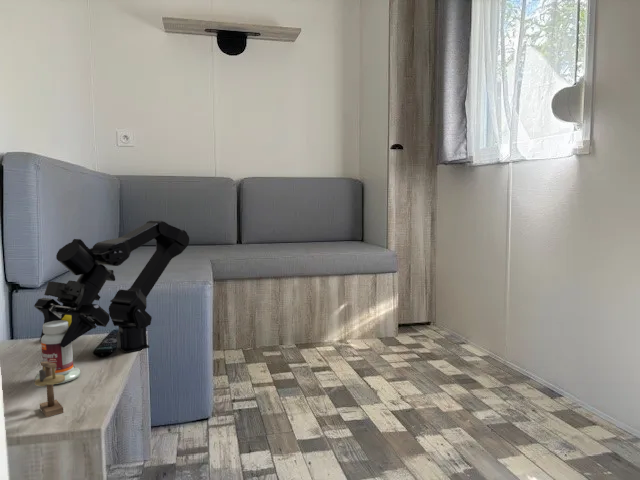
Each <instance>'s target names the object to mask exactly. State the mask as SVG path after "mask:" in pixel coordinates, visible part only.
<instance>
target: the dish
mask: <svg viewBox="0 0 640 480" xmlns="http://www.w3.org/2000/svg"><path fill="white" fill-rule="evenodd" d="M63 375H64V376H65V380H64V381H63V382H61V383H58V384H57V385H59V384H65V383H67V382H71V381H73V380H76V379H77V378H79V377H80V376H81V370H80V368H78V367H75V366H73V370H72V371H71V372H69V373H66V374H63ZM39 378H40V376H39V373H38V374H37V375H35V380H37V379H39Z"/></svg>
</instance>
